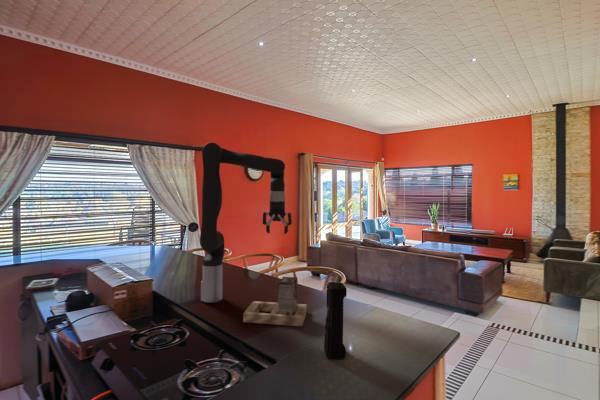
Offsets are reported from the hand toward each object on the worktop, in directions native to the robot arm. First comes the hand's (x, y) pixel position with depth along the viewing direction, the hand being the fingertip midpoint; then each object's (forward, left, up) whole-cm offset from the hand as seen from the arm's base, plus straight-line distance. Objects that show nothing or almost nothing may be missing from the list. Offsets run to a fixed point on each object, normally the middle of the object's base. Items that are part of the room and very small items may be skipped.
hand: (277, 233), depth 150 cm
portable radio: (+30, -48, -32) cm, 65 cm away
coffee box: (+10, -23, -32) cm, 41 cm away
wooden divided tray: (+5, -23, -32) cm, 40 cm away
